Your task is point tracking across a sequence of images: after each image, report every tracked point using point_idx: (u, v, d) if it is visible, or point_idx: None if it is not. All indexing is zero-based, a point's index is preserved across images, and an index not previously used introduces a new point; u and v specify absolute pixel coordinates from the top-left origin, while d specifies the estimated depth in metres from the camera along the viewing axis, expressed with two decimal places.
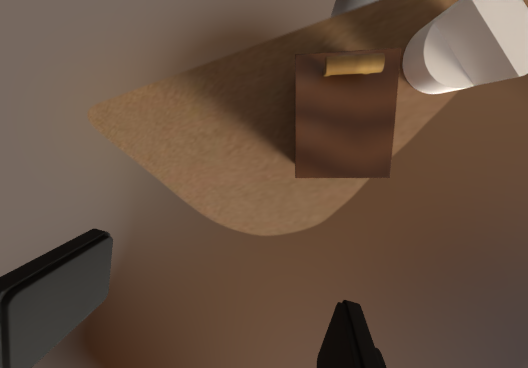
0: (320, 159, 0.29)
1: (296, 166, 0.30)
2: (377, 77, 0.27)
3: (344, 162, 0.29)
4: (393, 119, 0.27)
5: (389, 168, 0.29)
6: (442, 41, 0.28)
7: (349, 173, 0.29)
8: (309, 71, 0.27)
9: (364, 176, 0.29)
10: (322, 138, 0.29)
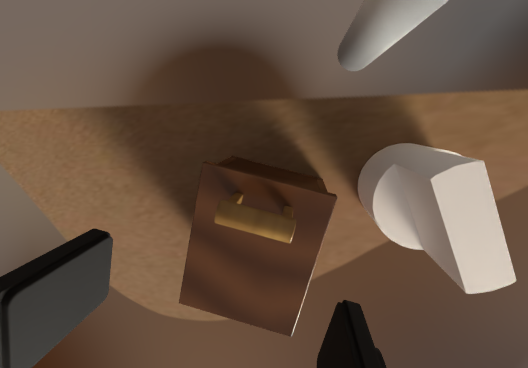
0: (212, 292, 0.23)
1: (182, 291, 0.23)
2: (300, 222, 0.20)
3: (241, 304, 0.22)
4: (309, 275, 0.21)
5: (293, 327, 0.22)
6: (399, 188, 0.22)
7: (244, 318, 0.23)
8: (217, 188, 0.20)
9: (261, 326, 0.23)
10: (219, 269, 0.22)
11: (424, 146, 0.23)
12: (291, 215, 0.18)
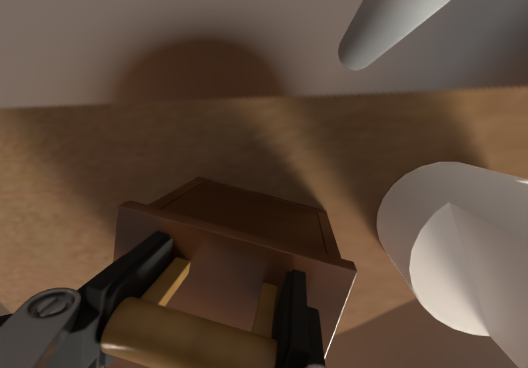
0: None
1: None
2: None
3: None
4: None
5: None
6: (455, 242, 0.13)
7: None
8: None
9: None
10: None
11: (488, 170, 0.15)
12: (272, 315, 0.09)
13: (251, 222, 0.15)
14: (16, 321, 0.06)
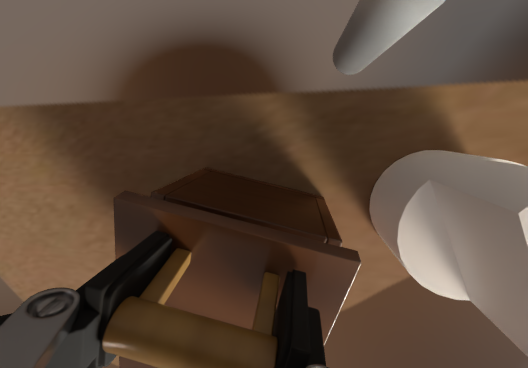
0: None
1: None
2: None
3: None
4: None
5: None
6: (436, 215, 0.15)
7: None
8: None
9: None
10: None
11: (465, 154, 0.17)
12: (273, 308, 0.09)
13: (257, 201, 0.16)
14: (15, 321, 0.06)
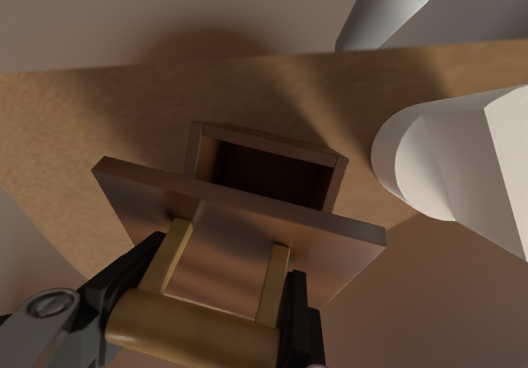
0: (194, 292, 0.17)
1: None
2: (305, 263, 0.11)
3: (232, 305, 0.17)
4: (321, 305, 0.14)
5: None
6: (427, 145, 0.18)
7: (240, 312, 0.18)
8: (142, 208, 0.10)
9: None
10: (194, 281, 0.16)
11: None
12: (279, 292, 0.09)
13: (276, 138, 0.19)
14: (15, 321, 0.06)
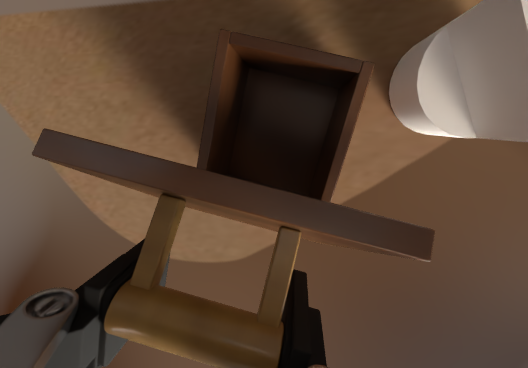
0: None
1: None
2: (322, 237, 0.09)
3: None
4: (341, 246, 0.13)
5: None
6: (450, 59, 0.18)
7: (262, 227, 0.19)
8: (120, 182, 0.08)
9: None
10: (211, 212, 0.15)
11: None
12: (285, 288, 0.08)
13: None
14: (13, 321, 0.06)
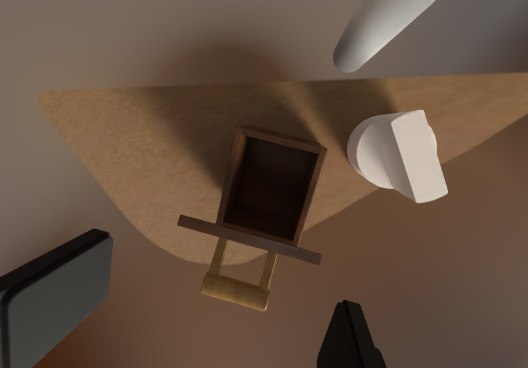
0: None
1: None
2: None
3: None
4: None
5: None
6: (375, 142, 0.30)
7: None
8: None
9: None
10: None
11: None
12: (270, 275, 0.19)
13: (284, 136, 0.32)
14: None
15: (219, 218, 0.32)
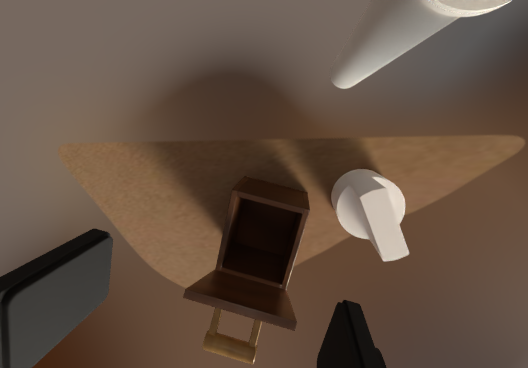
0: None
1: None
2: None
3: None
4: None
5: None
6: (352, 200, 0.35)
7: None
8: None
9: None
10: None
11: (370, 173, 0.36)
12: (257, 335, 0.24)
13: (274, 194, 0.36)
14: None
15: (218, 264, 0.37)
